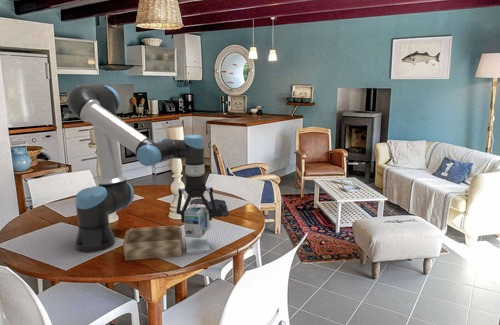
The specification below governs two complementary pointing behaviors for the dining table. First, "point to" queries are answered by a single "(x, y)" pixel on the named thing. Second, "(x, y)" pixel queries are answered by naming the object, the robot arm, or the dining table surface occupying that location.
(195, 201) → the jar
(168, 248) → the carton
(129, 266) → the dining table surface
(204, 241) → the tile
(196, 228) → the light bulb box
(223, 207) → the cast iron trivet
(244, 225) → the dining table surface
